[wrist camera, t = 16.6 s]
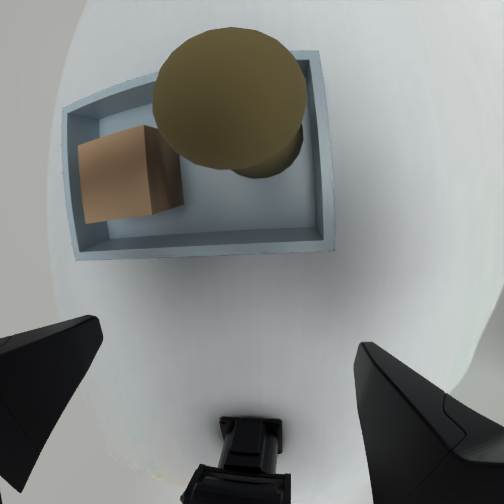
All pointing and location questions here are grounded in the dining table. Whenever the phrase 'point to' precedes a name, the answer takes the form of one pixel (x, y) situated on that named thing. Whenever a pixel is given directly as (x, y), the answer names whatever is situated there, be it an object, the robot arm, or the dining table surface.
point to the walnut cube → (129, 175)
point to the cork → (232, 102)
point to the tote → (207, 187)
